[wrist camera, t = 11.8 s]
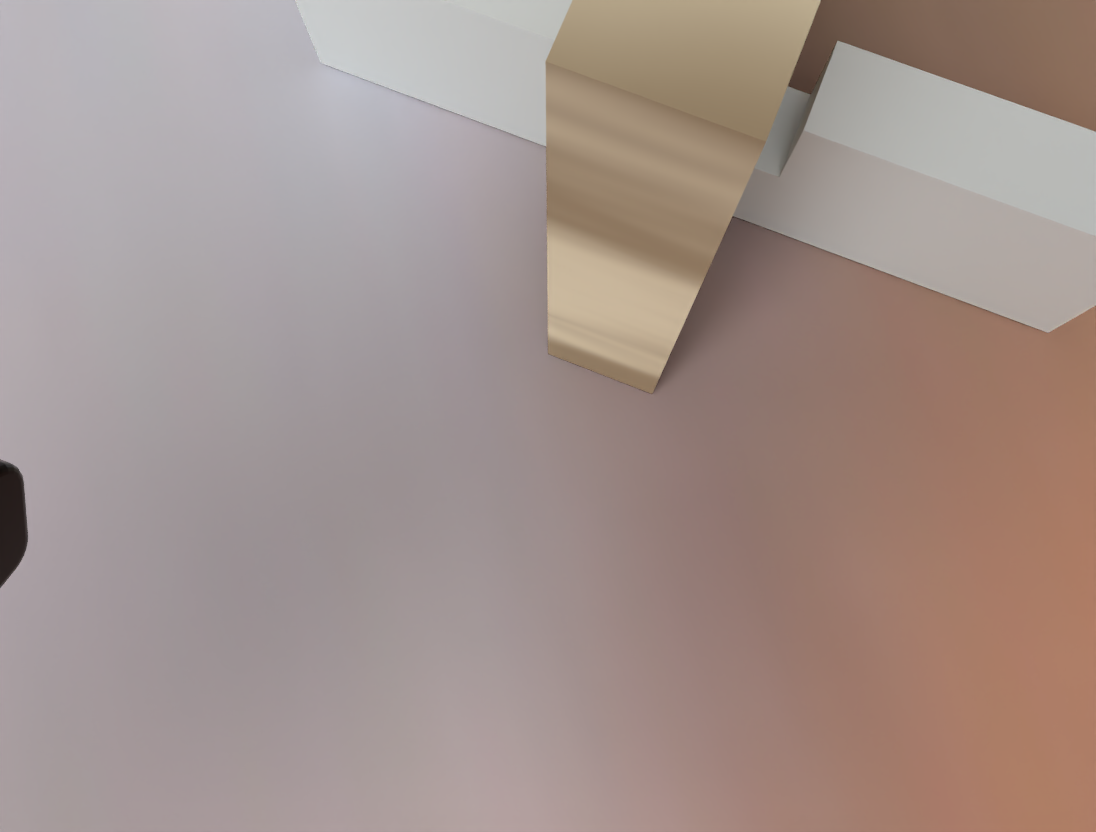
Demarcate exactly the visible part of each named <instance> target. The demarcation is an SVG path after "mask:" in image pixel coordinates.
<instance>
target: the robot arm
mask: <svg viewBox="0 0 1096 832" xmlns="http://www.w3.org/2000/svg"><path fill="white" fill-rule="evenodd" d="M27 542H28V530H27V517H26V505H25V492H24V481H23V476H22V474H21V473H20V471H19V469H18V468H17V467H16V466H14V465H13V464H11V463H8V462H6V461H3V460H0V588H1V586H2V585H3V584H4V583H5V582H6V580H7V579H8V578H9V577H10V575H11V574H12V573H13V572H14V570H15V569H16V568H17V566H18V565H19V563H20V562H21V560H22V558H23V556H24V553H25V551H26V547H27Z"/></svg>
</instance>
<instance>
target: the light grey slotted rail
mask: <svg viewBox="0 0 1096 832" xmlns="http://www.w3.org/2000/svg"><path fill="white" fill-rule="evenodd" d="M295 2H296V4H297V7H298V9H299V11H300V14H301V16H302V19H303V21H304V24H305V26H306V28H307V31H308V33H309V36H310V38H311V41H312V43H313V45H314V48H315V50H316V53H317V55H318V58H319V60H320V62H321V63H322V64H325V65H327V66H330V67H333V68H335V69H338V70H341V71H344V72H346V73H349V74H352V75H354V76H357V77H360V78H362V79H365V80H368V81H371V82H373V83H376V84H379V85H381V86H384V87H387V88H389V89H392V90H395V91H397V92H400V93H403V94H406V95H408V96H411V97H414V98H416V99H419V100H422V101H424V102H427V103H430V104H433V105H435V106H438V107H441V108H443V109H446V110H449V111H451V112H454V113H457V114H459V115H462V116H465V117H468V118H470V119H473V120H476V121H478V122H481V123H484V124H486V125H489V126H492V127H495V128H497V129H500V130H503V131H505V132H508V133H511V134H513V135H516V136H519V137H521V138H524V139H527V140H530V141H532V142H535V143H538V144H540V145H543V146H546V66H545V61H546V59H547V57H548V55H549V52H550V50H551V48H552V45H553V43H554V41H555V39H556V36H557V34H558V32H559V30H560V27H561V25H562V23H563V21H564V18H565V16H566V14H567V12H568V9H569V7H570V5H571V3H572V0H295ZM733 216H734V217H737V218H740V219H743V220H745V221H748V222H751V223H753V224H756V225H759V226H761V227H764V228H767V229H770V230H772V231H775V232H778V233H780V234H783V235H786V236H788V237H791V238H794V239H796V240H799V241H802V242H805V243H807V244H810V245H813V246H815V247H818V248H821V249H823V250H826V251H829V252H832V253H834V254H837V255H840V256H842V257H845V258H848V259H850V260H853V261H856V262H858V263H861V264H864V265H867V266H869V267H872V268H875V269H877V270H880V271H883V272H885V273H888V274H891V275H894V276H896V277H899V278H902V279H904V280H907V281H910V282H912V283H915V284H918V285H920V286H923V287H926V288H929V289H931V290H934V291H937V292H939V293H942V294H945V295H947V296H950V297H953V298H956V299H958V300H961V301H964V302H966V303H969V304H972V305H974V306H977V307H980V308H982V309H985V310H988V311H991V312H993V313H996V314H999V315H1001V316H1004V317H1007V318H1009V319H1012V320H1015V321H1018V322H1020V323H1023V324H1026V325H1028V326H1031V327H1034V328H1036V329H1039V330H1042V331H1044V332H1047V333H1049V332H1051V331H1052V330H1054V329H1056V328H1058V327H1059V326H1061V325H1063V324H1064V323H1066V322H1068V321H1070V320H1071V319H1073V318H1075V317H1077V316H1078V315H1080V314H1082V313H1084V312H1085V311H1087V310H1089V309H1091V308H1092V307H1094V306H1096V132H1095V131H1092V130H1089V129H1086V128H1084V127H1081V126H1078V125H1075V124H1072V123H1070V122H1067V121H1064V120H1061V119H1058V118H1055V117H1053V116H1050V115H1047V114H1044V113H1041V112H1038V111H1036V110H1033V109H1030V108H1027V107H1024V106H1021V105H1019V104H1016V103H1013V102H1010V101H1007V100H1004V99H1002V98H999V97H996V96H993V95H990V94H988V93H985V92H982V91H979V90H976V89H973V88H971V87H968V86H965V85H962V84H959V83H956V82H954V81H951V80H948V79H945V78H942V77H939V76H937V75H934V74H931V73H928V72H925V71H923V70H920V69H917V68H914V67H911V66H908V65H906V64H903V63H900V62H897V61H894V60H891V59H889V58H886V57H883V56H880V55H877V54H874V53H872V52H869V51H866V50H863V49H860V48H857V47H855V46H852V45H849V44H846V43H843V42H841V41H837V43H836V45H835V47H834V49H833V51H832V53H831V55H830V57H829V59H828V61H827V63H826V65H825V67H824V69H823V71H822V73H821V75H820V77H819V79H818V81H817V83H816V85H815V87H814V89H813V91H812V93H811V95H810V94H808V93H805V92H802V91H799V90H797V89H794V88H791V87H787V89H786V92H785V94H784V97H783V99H782V102H781V105H780V107H779V110H778V112H777V115H776V118H775V120H774V123H773V125H772V128H771V130H770V133H769V136H768V138H767V141H766V143H765V145H764V148H763V150H762V152H761V154H760V156H759V159H758V161H757V163H756V165H755V167H754V170H753V172H752V174H751V176H750V179H749V181H748V183H747V185H746V187H745V190H744V192H743V194H742V196H741V198H740V201H739V203H738V205H737V207H736V210H735V212H734V214H733Z"/></svg>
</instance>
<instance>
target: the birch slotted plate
mask: <svg viewBox="0 0 1096 832" xmlns="http://www.w3.org/2000/svg"><path fill="white" fill-rule="evenodd" d="M820 1H821V0H572V3H571V5H570V7H569V9H568V12H567V14H566V16H565V18H564V21H563V23H562V25H561V27H560V30H559V32H558V34H557V36H556V39H555V41H554V43H553V45H552V48H551V50H550V52H549V55H548V57H547V59H546V61H545V66H546V180H547V293H548V354H550V355H553V356H555V357H558V358H560V359H563V360H565V361H568V362H571V363H573V364H576V365H578V366H581V367H583V368H586V369H589V370H591V371H594V372H596V373H599V374H602V375H604V376H607V377H609V378H612V379H614V380H617V381H620V382H622V383H625V384H627V385H630V386H632V387H635V388H638V389H640V390H643V391H645V392H648V393H650V394H652V393H653V391H654V389H655V387H656V385H657V382H658V380H659V378H660V376H661V373H662V371H663V369H664V367H665V365H666V362H667V360H668V358H669V356H670V354H671V351H672V349H673V347H674V345H675V342H676V340H677V338H678V336H679V334H680V331H681V329H682V327H683V325H684V323H685V320H686V318H687V316H688V314H689V311H690V309H691V307H692V305H693V303H694V300H695V298H696V296H697V294H698V292H699V289H700V287H701V285H702V283H703V280H704V278H705V276H706V274H707V272H708V269H709V267H710V265H711V263H712V261H713V258H714V256H715V254H716V252H717V249H718V247H719V245H720V243H721V241H722V238H723V236H724V234H725V232H726V230H727V227H728V225H729V223H730V221H731V218H732V216H733V214H734V212H735V210H736V207H737V205H738V203H739V201H740V198H741V196H742V194H743V192H744V190H745V187H746V185H747V183H748V181H749V179H750V176H751V174H752V172H753V170H754V167H755V165H756V163H757V161H758V159H759V156H760V154H761V152H762V150H763V148H764V145H765V143H766V141H767V138H768V136H769V133H770V130H771V128H772V125H773V123H774V120H775V118H776V115H777V112H778V110H779V107H780V105H781V102H782V99H783V97H784V94H785V92H786V89H787V87H788V84H789V81H790V79H791V76H792V74H793V71H794V68H795V66H796V63H797V61H798V58H799V56H800V53H801V50H802V48H803V45H804V43H805V40H806V37H807V35H808V32H809V30H810V27H811V25H812V22H813V19H814V17H815V14H816V12H817V9H818V6H819V4H820Z"/></svg>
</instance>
